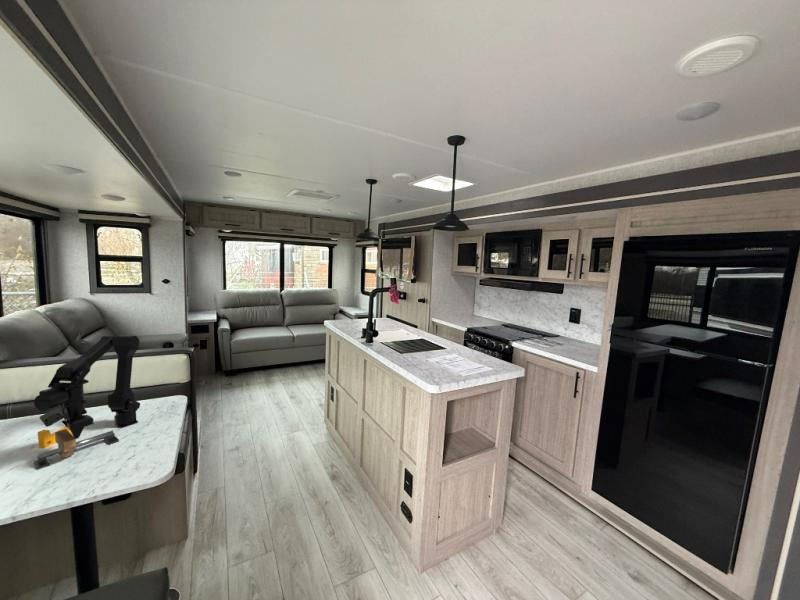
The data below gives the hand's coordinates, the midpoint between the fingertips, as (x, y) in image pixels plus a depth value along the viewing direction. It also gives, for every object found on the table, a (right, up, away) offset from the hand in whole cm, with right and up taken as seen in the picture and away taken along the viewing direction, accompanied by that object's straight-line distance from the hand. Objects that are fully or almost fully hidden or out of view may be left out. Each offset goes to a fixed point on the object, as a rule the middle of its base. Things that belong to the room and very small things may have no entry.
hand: (76, 438), depth 120 cm
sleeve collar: (-2, -6, -2) cm, 6 cm away
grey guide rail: (0, -6, +1) cm, 6 cm away
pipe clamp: (-16, -4, +9) cm, 19 cm away
